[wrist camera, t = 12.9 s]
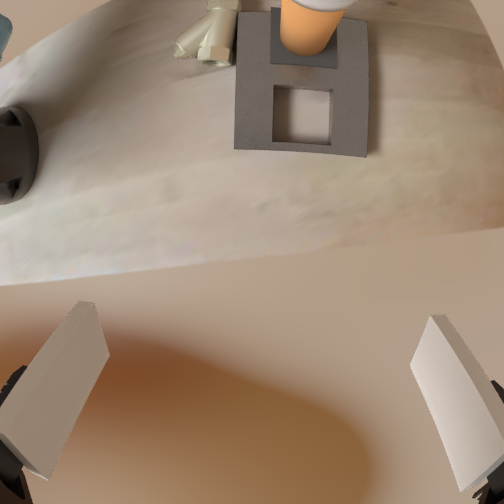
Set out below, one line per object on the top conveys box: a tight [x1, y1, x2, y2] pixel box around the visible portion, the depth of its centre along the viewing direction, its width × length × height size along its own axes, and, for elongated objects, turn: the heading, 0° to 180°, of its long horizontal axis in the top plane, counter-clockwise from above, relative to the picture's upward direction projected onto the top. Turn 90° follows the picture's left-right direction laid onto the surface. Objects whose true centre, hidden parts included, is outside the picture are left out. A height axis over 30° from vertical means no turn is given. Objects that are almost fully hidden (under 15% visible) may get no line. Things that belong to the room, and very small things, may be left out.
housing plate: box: [234, 12, 369, 158], centre depth 29 cm, size 14×16×2 cm
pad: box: [270, 7, 338, 68], centre depth 26 cm, size 7×7×1 cm
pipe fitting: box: [172, 0, 242, 67], centre depth 27 cm, size 8×4×7 cm
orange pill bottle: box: [280, 0, 358, 56], centre depth 20 cm, size 6×6×14 cm
